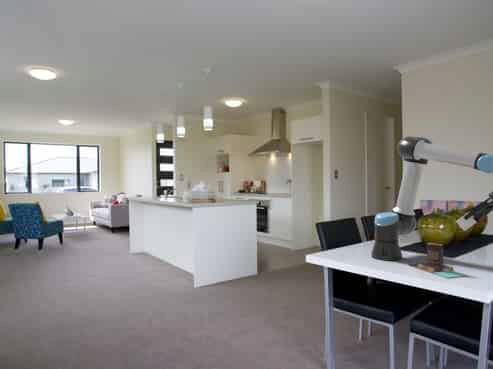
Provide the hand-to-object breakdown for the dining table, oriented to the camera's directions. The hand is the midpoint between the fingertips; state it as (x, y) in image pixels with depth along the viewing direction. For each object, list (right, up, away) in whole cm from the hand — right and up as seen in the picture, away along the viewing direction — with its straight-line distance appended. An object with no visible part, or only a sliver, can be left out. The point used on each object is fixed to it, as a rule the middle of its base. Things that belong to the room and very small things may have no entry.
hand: (460, 226), depth 154 cm
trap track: (-11, -20, +5) cm, 23 cm away
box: (-10, -20, +3) cm, 23 cm away
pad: (-8, -20, -5) cm, 22 cm away
